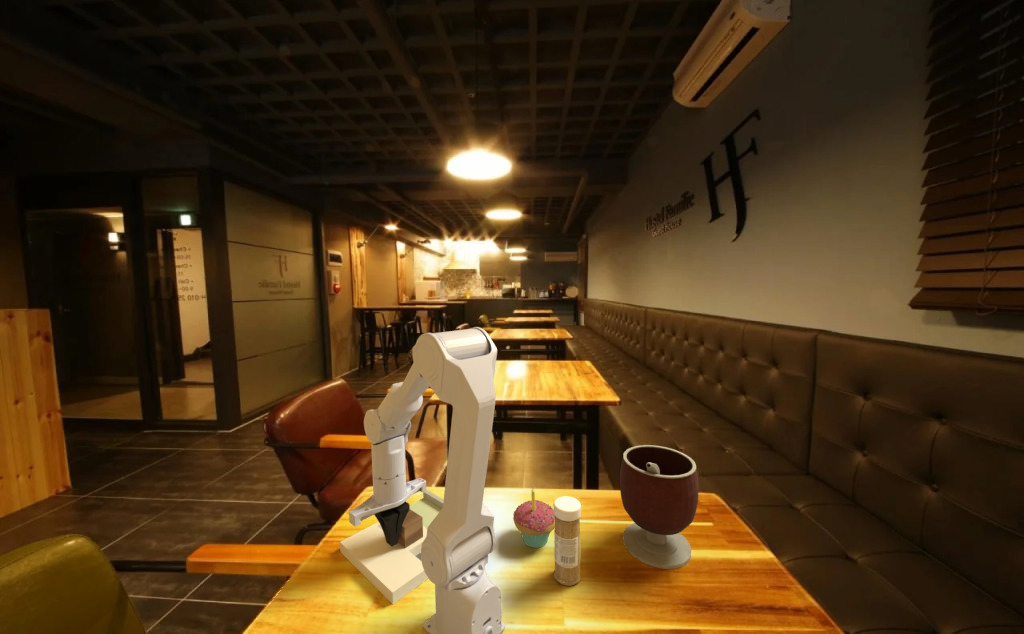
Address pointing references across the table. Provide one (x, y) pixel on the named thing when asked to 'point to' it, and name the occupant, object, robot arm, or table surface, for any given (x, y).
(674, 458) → the mate gourd
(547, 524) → the cupcake
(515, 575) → the table surface
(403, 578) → the board
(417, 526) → the walnut block
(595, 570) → the table surface
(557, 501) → the sprinkles bottle
